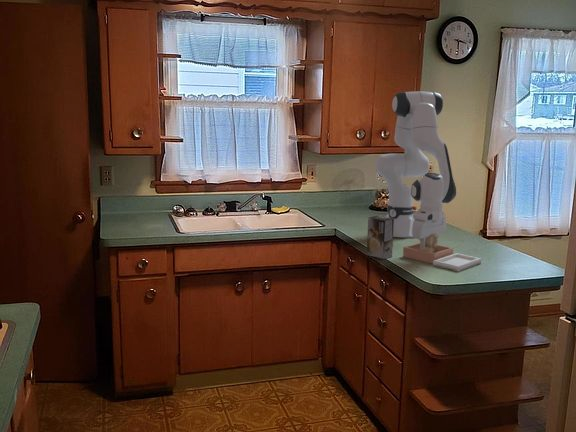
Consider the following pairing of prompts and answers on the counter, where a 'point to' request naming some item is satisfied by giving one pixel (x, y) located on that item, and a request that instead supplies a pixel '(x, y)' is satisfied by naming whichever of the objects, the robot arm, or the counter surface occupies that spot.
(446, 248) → the terracotta square frame
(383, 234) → the coffee box
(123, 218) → the counter surface
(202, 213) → the counter surface
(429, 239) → the maple block
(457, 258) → the white tray
